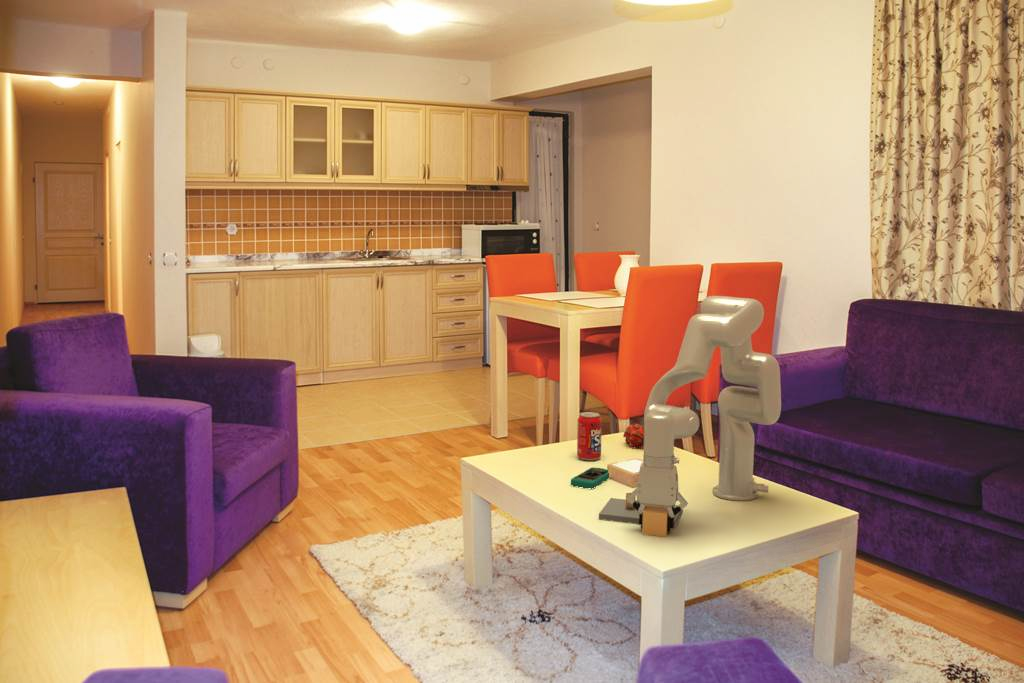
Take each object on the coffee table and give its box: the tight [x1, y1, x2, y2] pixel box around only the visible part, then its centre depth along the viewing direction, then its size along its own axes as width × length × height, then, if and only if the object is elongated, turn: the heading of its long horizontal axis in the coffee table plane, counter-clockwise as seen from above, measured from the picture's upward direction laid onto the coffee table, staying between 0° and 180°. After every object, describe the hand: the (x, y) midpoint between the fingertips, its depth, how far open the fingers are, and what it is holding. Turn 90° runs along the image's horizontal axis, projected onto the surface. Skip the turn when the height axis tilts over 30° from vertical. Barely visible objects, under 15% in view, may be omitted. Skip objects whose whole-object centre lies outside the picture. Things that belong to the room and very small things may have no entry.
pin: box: [625, 492, 637, 510], centre depth 244 cm, size 3×3×4 cm
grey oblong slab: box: [598, 497, 684, 529], centre depth 244 cm, size 20×14×2 cm
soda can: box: [576, 411, 603, 462], centre depth 297 cm, size 8×8×15 cm
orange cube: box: [641, 504, 669, 538], centre depth 231 cm, size 6×6×6 cm
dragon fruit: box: [623, 423, 644, 450], centre depth 313 cm, size 8×8×12 cm
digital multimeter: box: [570, 467, 609, 490], centre depth 274 cm, size 7×15×3 cm, turn 150°
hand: (656, 528), depth 232 cm, fingers closed on orange cube, 5 cm apart
